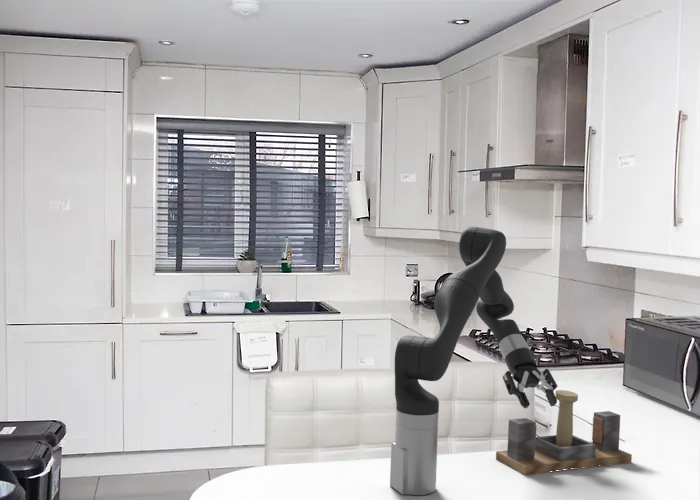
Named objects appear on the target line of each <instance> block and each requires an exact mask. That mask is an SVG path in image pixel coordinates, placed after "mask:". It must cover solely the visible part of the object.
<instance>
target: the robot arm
mask: <svg viewBox="0 0 700 500" xmlns="http://www.w3.org/2000/svg"><path fill="white" fill-rule="evenodd" d="M506 247H507V238H506V236H505V234H504V233H503V232H502V231H499V230H497V229H492V228H485V227H478V226H467V227H466V228H465V229H464V230H463V231H462V233H461V235H460V238H459V244H458V251H459V255H460V258H461V260H462V262H463V264H464V265H465V267H462V268H461V269H460V268H459V270H456V271H455V272H453V273H451V274H450V275H449V276H448V277H446V278H445V280H444V281H443V283H442V284H441V286H440V287H439V289H438V292H437V293H436V295H435V297H434V300H433V301H434V302H433V307H434V312H435V315H436V318H437V322H438V324H439V331H438V333H437V334H436V336H434V337H428V336H427V337H426V336H419V335H404V336H402V337H400V339H399V340H398V341H397V343H396V348H395V352H394V397H395V402H396V405H395V406H396V409H395V411H396V412H395V431H394V432H395V433H394V434H395V436H394V437H395V438H394V442H391V446H390V473H389V474H390V475H389V476H390V477H389V486H390V487H392V489H394V490H395V491H397V492H398V493H400V494H401V495H412V496H424V495H430V494H432V493H434V492H435V491H436V490H437V489H436V488H437V465H438V464H437V463H438V461H437V460H438V439H439V436H438V435H439V411H440V402H439V398H438V397H437V396H436V395H434V394H433V393H431V392H430V391H428V390H427V389H425V387H423V386H422V385H421V384H420V383H419V381H426V382H437V381H439V380H441V379H442V378H443V376H444V375H445V374H446V373H447V369H448V367H449V365H450V363H451V359H452V357H453V354H454V352H455V349H456V346H457V345H458V341H459V339H460V336H461V335H462V332H463V330H464V328H465V326H466V324H467V322H468V320H469V319H470V317H471V315H472V313H473V311H474V309H475V308H476V309H475V310H476V313H477V316H478V317H479V319H481V321H482V322H483V323H484V324H485V325H486V326H487V327H488V328H489V330H490V331H491V332H492V334H493V335H494V338H495V341H496V342H497V344H498V347H499V350H500V354H501V356H502V357H503V360H504V362H505V365H506V367H507V369H508V370H506V372H505V373H504V374H503V375H502V380H503V382H504V385H505V387H506V391H507V393H508V395H510V396H512V395H514V396H515V397H517V399H518V401H519V404H520V406H521V407H523V409H529V407H530V401H529V399H528V397H527V394H526V393H525V391H524V389H529V388H533V389H534V388H535V389H537V390H538V391H541V392H543V393H544V394H545V397H546V400H547V402H548V404H549V406H550V407H555V406H556V404H557V403H558V400H557V399H556V393H555V392H554V391H556V389H557V388H558V384H557V382H556V380H555V378H554V377H553V375H552V373H551V372H550V370H549V368H545V369H544V370H539V369H538V368H537V362H536V360H535V357H534V355H533V353H532V351H531V349H530V347H529V345H528V343H527V341H526V340H525V338H524V337H523V335H522V332H521V330H520V328H519V326H518V324H517V322H516V321H515V320H514V319H510V318H509V319H508V318H506V319H503V318H505V317H507V316H510V315H511V314H512V313H513V311H514V309H515V305H514V301H513V299H512V298H511V296H510V295H509V293H507V291H505V289H504V283H503V279H502V277H501V276H500V274H499V273H498V271H497V270H496V269H497V267H498V266H499V264H500V263H501V261H502V259H503V257H504V254H505V252H506ZM515 382H516V383H515ZM540 383H541V384H540Z"/></svg>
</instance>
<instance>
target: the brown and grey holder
mask: <svg viewBox="0 0 700 500" xmlns="http://www.w3.org/2000/svg"><path fill="white" fill-rule="evenodd" d="M536 423H537V422H536V421H534V420H531V419H529V418H526V417H523V418H521V417H520V418H511V419H508V429H507V430H508V431H507V433H508V434H507V450H498V451H497V450H496V452H495V460H496V461H499V462H500V463H502V464H503V465H505V466H507V467H509V468H511V469H513V470H515V471H517V472H518V473H520V474H522V475H524V476H529V475H537V474H536V473H538V474H545V473H544V472H547V473H551V472H550V471H555V472H557V471H556V470H563V469H571V468H581V469H583V468H582V467H589V468H593V467H592V466H597V467H600V466H599V465H606V466H610V465H609V464H614V465H621V464H627V463H628V464H630V463H632V459H633V457H632V456H633V455H632V454H631V453H630V452H626V451H625V450H622V449H620V448H619V447H620V432H621V431H620V429H621V428H620V427H621V414H619V413H616V412H614V411H609V410H608V411H594V412H593V418H592V433H591V435H592V437H591V438H592V439H591V441H588V440H585V439H584V438H583V439H582V438H580V437H578V436H575V435H573V436H572V444H571V446H568V447H559V446H557V442H556V437H557V436H556V434H554V435H544V436H542V435H541V436H537V424H536Z"/></svg>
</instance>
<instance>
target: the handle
mask: <svg viewBox="0 0 700 500" xmlns="http://www.w3.org/2000/svg"><path fill="white" fill-rule="evenodd" d="M555 397H556V399H557V401H558V403H559V405H558V413H557V420H556V421H557V423H556V432H555V433H556V434H555V435H556V436H557V437H556V442H557V446H559V447H568V446H571V444H572V436H574V435H573V433H574V420H573V419H574V416H573V415H574V413H573V411H574V403H576V402H578V400H579V395H578V393H577V392H575V391H570V390H563V389H558V390H555Z"/></svg>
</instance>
